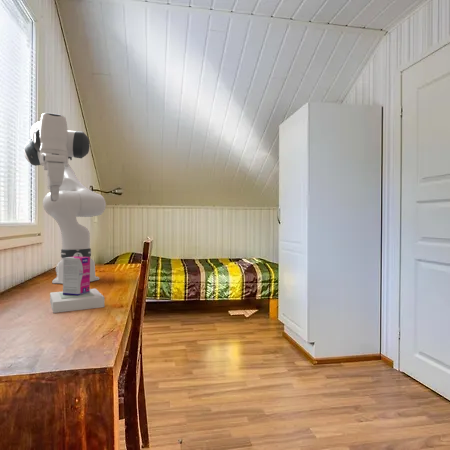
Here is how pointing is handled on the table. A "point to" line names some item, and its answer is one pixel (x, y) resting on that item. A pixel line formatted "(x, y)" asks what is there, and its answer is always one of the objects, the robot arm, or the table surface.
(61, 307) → the dock
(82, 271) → the supplement box
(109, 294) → the table surface
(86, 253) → the robot arm
